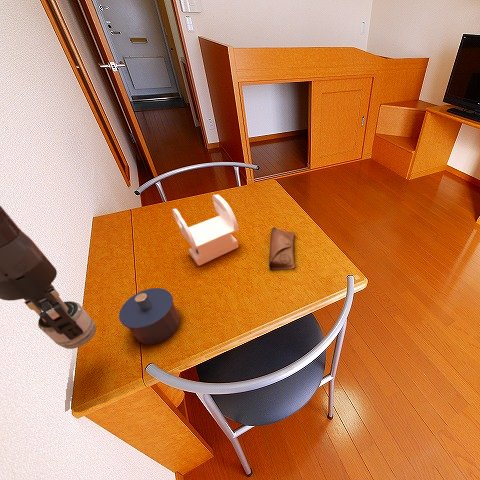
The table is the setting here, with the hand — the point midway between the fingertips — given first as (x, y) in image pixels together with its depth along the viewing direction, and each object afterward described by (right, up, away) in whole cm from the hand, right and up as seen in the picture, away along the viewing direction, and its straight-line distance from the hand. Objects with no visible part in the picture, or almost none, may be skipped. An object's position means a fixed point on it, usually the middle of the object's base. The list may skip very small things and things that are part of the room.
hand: (69, 325), depth 52 cm
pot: (+7, -5, +17) cm, 19 cm away
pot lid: (+7, 0, +12) cm, 14 cm away
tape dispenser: (+13, +13, +39) cm, 43 cm away
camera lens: (0, -3, +2) cm, 4 cm away
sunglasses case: (+35, +13, +40) cm, 55 cm away
